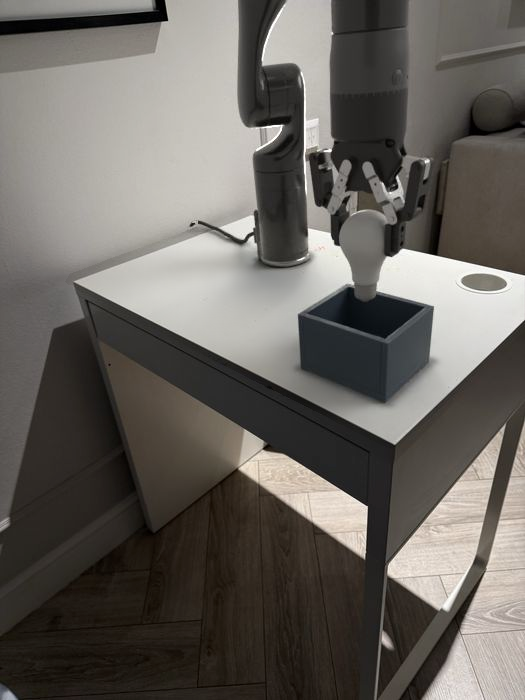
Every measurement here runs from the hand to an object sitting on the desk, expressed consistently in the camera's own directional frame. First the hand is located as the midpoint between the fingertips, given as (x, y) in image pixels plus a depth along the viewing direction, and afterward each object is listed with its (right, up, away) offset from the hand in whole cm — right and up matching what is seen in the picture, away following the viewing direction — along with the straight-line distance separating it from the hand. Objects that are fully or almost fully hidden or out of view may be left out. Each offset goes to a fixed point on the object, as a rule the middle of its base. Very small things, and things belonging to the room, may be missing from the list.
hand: (365, 248), depth 59 cm
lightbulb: (+1, -6, +4) cm, 7 cm away
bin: (+1, -13, +8) cm, 16 cm away
